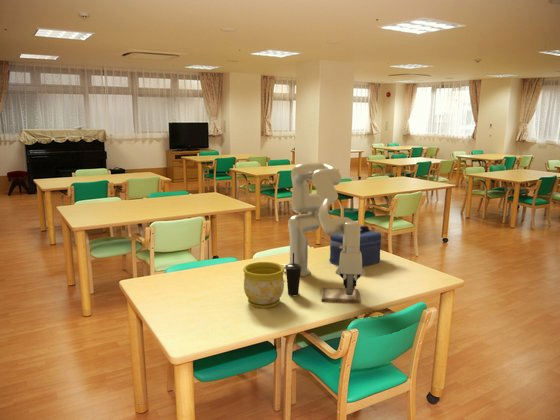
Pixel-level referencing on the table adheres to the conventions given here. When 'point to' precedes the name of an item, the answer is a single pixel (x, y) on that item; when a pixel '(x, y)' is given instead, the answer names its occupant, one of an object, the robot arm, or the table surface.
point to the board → (339, 295)
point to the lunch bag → (368, 246)
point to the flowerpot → (263, 284)
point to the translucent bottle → (349, 284)
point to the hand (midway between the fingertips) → (349, 287)
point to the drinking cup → (293, 277)
